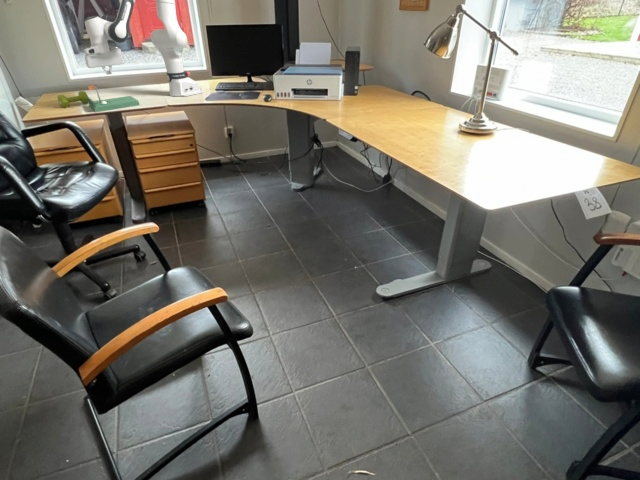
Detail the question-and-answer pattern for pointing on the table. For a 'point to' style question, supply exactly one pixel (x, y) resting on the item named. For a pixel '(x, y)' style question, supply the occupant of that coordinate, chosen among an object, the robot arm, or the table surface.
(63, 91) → the table surface
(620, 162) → the table surface
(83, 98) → the dumbbell
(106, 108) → the putting mat
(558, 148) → the table surface
